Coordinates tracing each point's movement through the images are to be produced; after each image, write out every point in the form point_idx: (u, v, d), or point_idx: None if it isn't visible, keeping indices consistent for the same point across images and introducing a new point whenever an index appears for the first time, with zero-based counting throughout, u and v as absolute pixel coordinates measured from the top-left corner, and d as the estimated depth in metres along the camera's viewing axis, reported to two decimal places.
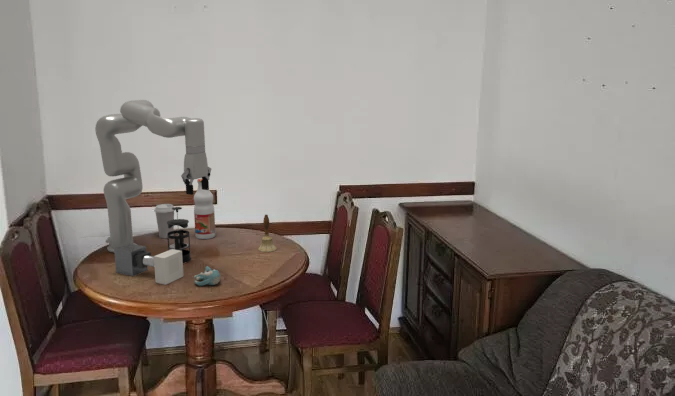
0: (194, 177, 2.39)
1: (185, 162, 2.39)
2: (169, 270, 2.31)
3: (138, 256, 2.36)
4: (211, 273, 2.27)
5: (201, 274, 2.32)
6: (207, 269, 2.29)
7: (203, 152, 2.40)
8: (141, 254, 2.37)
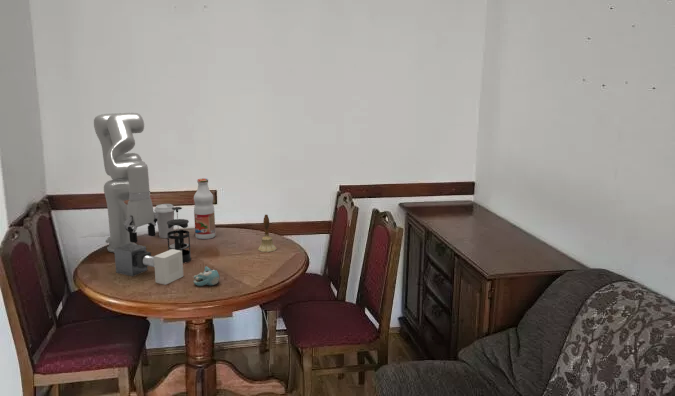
0: (138, 224, 2.31)
1: (128, 209, 2.30)
2: (169, 270, 2.31)
3: (138, 256, 2.36)
4: (210, 273, 2.27)
5: (200, 274, 2.32)
6: (206, 269, 2.29)
7: (147, 198, 2.32)
8: (141, 254, 2.37)
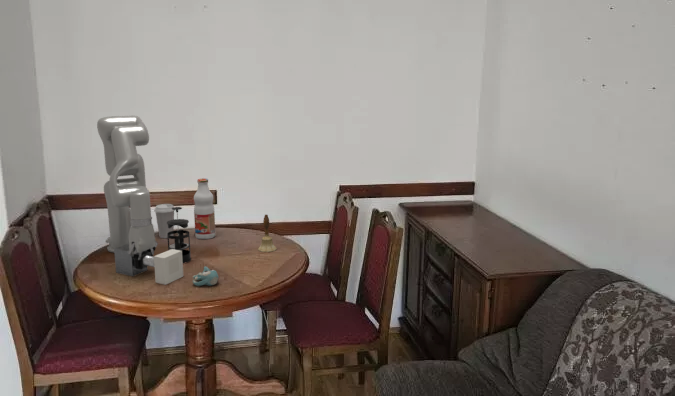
0: (139, 250, 2.34)
1: (130, 235, 2.33)
2: (169, 270, 2.31)
3: None
4: (209, 273, 2.27)
5: (199, 274, 2.32)
6: (205, 269, 2.29)
7: (149, 225, 2.34)
8: (141, 254, 2.37)
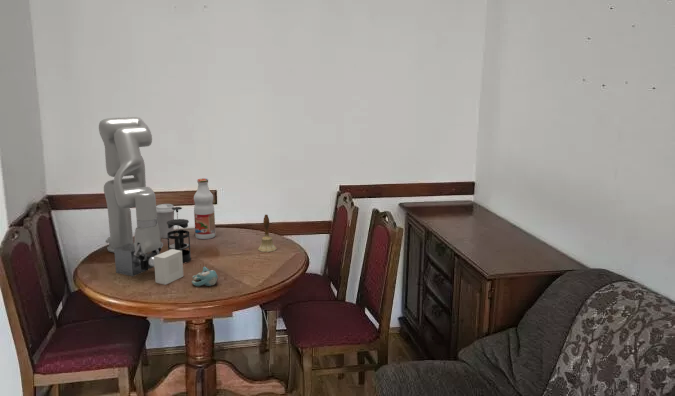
0: (145, 252, 2.32)
1: (136, 236, 2.32)
2: (169, 270, 2.31)
3: None
4: (208, 274, 2.27)
5: (199, 274, 2.32)
6: (204, 269, 2.29)
7: (154, 226, 2.33)
8: (147, 255, 2.36)
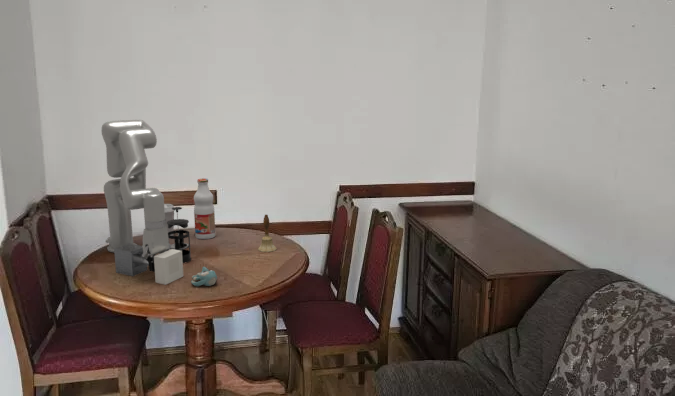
0: (153, 253, 2.31)
1: (144, 238, 2.30)
2: (169, 270, 2.31)
3: None
4: (207, 274, 2.27)
5: (198, 274, 2.32)
6: (204, 270, 2.29)
7: (163, 227, 2.31)
8: None
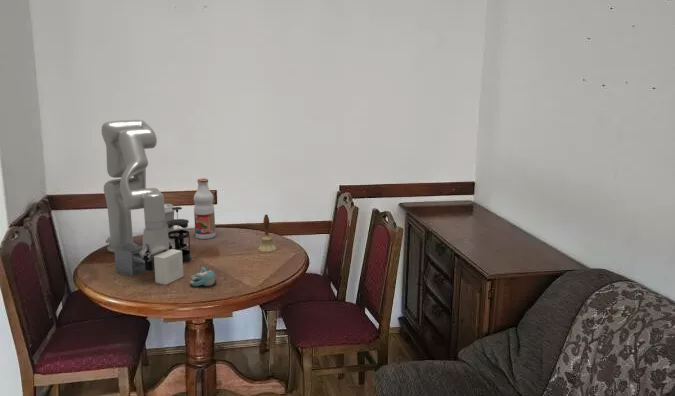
0: (153, 253, 2.31)
1: (144, 238, 2.30)
2: (169, 270, 2.31)
3: (152, 259, 2.33)
4: (205, 274, 2.26)
5: (197, 274, 2.32)
6: (202, 270, 2.29)
7: (163, 227, 2.31)
8: None
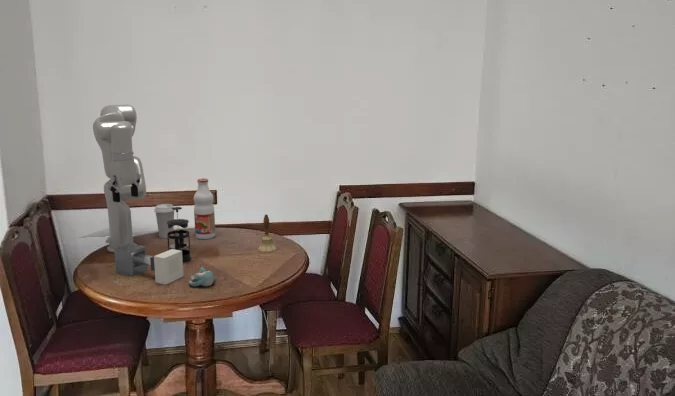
0: (120, 184, 2.34)
1: (111, 169, 2.33)
2: (169, 270, 2.31)
3: (152, 259, 2.33)
4: (204, 274, 2.26)
5: (196, 275, 2.32)
6: (201, 270, 2.28)
7: (130, 159, 2.34)
8: None
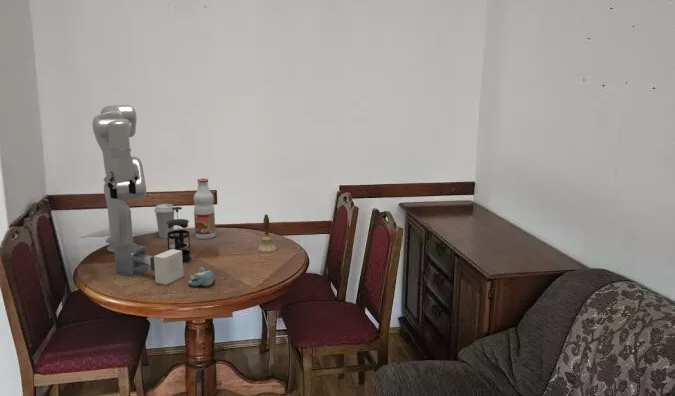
0: (118, 181, 2.34)
1: (108, 165, 2.33)
2: (169, 270, 2.31)
3: (152, 259, 2.33)
4: (204, 274, 2.26)
5: (196, 274, 2.32)
6: (201, 270, 2.29)
7: (127, 155, 2.35)
8: None
